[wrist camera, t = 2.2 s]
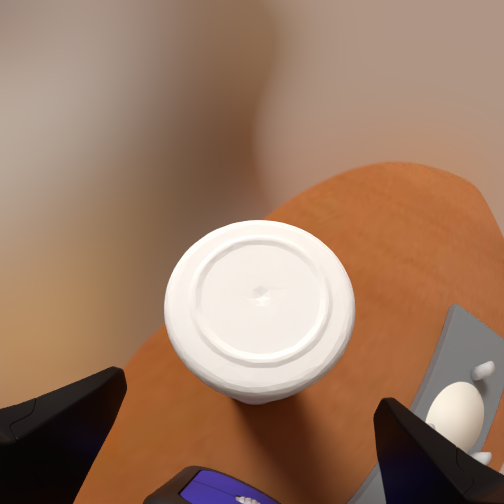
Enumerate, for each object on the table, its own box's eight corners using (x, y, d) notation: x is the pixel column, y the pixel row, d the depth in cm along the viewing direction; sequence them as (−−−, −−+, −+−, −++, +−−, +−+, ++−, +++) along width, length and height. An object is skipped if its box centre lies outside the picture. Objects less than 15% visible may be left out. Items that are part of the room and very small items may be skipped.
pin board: (425, 529, 9) (444, 538, 7) (345, 505, 12) (359, 518, 9) (506, 350, 17) (526, 340, 14) (449, 307, 19) (468, 292, 17)
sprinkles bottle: (274, 414, 16) (325, 429, 5) (210, 389, 17) (124, 343, 5) (298, 353, 18) (375, 245, 7) (237, 330, 19) (213, 193, 8)
